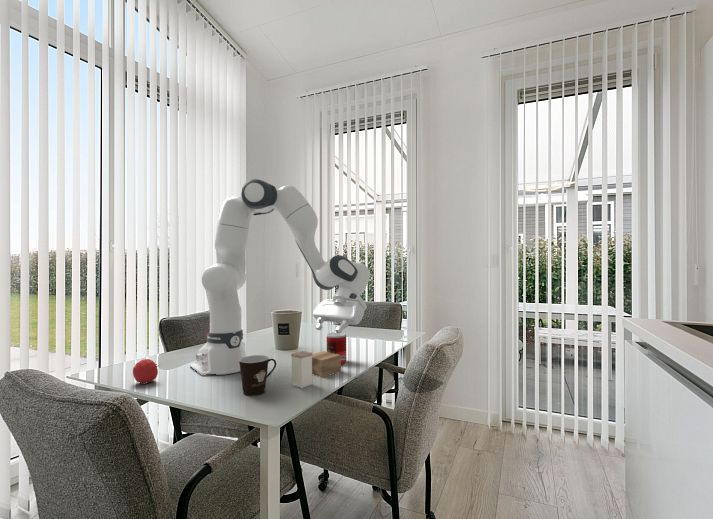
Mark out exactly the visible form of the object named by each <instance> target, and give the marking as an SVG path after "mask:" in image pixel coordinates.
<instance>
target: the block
mask: <svg viewBox="0 0 713 519" xmlns="http://www.w3.org/2000/svg"><path fill="white" fill-rule="evenodd" d="M341 367H342V364H341V355H338V354H334V353H330V352H327V351H325V350H323V351H318V352H315V353H312V375H313V374H314V375H313V376H316V375H317V376H316V377H319V376H320V378H324V376H325V377H328V376H330V374H331V375H334V374H336V373H340V371H341V370H342V368H341ZM341 372H342V371H341ZM333 373H334V374H333ZM327 375H328V376H327Z"/></svg>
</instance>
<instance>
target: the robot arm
mask: <svg viewBox="0 0 713 519" xmlns="http://www.w3.org/2000/svg"><path fill="white" fill-rule="evenodd" d="M274 210H276V211H277V212H278V213H279V214H280V215H281V216H282V218H283V220H284V221H285V222H286V224H287V226H288V227H289V228H290V230H291V233H292V235H293V237H294V240H295V243H296V245H297V247H298V249H299V250H300V253H301V255H302V256H303V258H304V260H305V262H306V263H307V265H308V267H309V269H310V271H311V273H312V277H313V281H314V283H315V285H316V286H317V287H318V288H319V289H321V290H323V291H324V290H325V291H331V290H332V289H334V288H336V287H337V286H338V288H337V290H336V292H335V293H334V295H333V296H332V298H326V299H324V300H322V301H321V302H320V303H319V304H318V305H317V307H316V308H314V310H313V312H312V316H313V317H314V319H315V320H316V321H317V322H316V325H315V330H317V331H322V329H323V325H322V324H323V323H324V322H329V323H334V324H340V325H339V326H336V328H335V329H334V330H335V333H336V332H337V333H343V330H345V329H346V328H347V327H349V325H352V326H357V325H358V324H360V323H361V321H362V319H363V317H364V315H365V311H366V310H367V308H368V306H367V304H366V302H365V301H364V299H363V297H361V295H362V294H363V292H364V291H365V290H366V288H367V286H368V283H369V282H370V281H369V280H370V278H371V272H370V269H369V268H368V266H367V265H366V264H364V263H362V262H354V261H352V260H349V259H348V258H347V257H346V256H344V255H341V254H336V255H334V256H333V257H331V258H329V259H328V260H327V261H325V260H324V258H323V257H322V255H321V253H320V250H319V249H318V248H317V245H316V243H315V234H316V231H317V228H318V222H319V219H318V216H317V213H316V211H315V210H314V208H313V207H312V206H311V204H310V202H309V201H308V200H307V199H306V197H305V196H304V195H303V194H302V193H301V192H300V190H298V188H296V187H295V186H294V185H291V184H287V185H283V186H281V187H279V188H277V187H275V186H274V185H273V184H271V183H268V182H267V181H264V180H261V179H256V178H253V179H250V180H247V181H245V182H244V183H243V185H242V187H241V190H240V196H230V197H227V198H225V200H224V201H223V203H222V205H221V208H220V212H219V215H218V221H217V227H216V233H215V240H214V248H215V253H216V254H215V256H216V263H214V264H213V265H210V266H209V267H207V268H206V269H205V270H204V271H203V273H202V276H201V284H202V286H203V288H204V290H205V293H206V300H207V304H208V308H209V310H208V311H209V332H208V333H207V334H206V341H207V342H205V344H203V346H202V347H200V348H199V349H198V350H197V352H196V356H195V359H196V362H193V363H190V364H189V367H190V366H191V367H192V368H194V369H195V370H196V371H198V372H199V373H201V374H203V375H202V376H205V375H204V374H216V375H221V376H222V375H229V374H234V373H235V374H236V373H240V364H239V359H241V358H243V357H247V354H246V353H247V352H246V344H245V342H243V340H244V330H243V328H242V326H243V324H242V323H243V322H242V306H241V304H240V299H239V295H238V294H239V293H238V291H239V290H240V289H241V288H242V287H243V286H244V284H245V283H246V281H247V274H246V269H247V268H246V267H247V266H246V265H247V264H246V263H247V262H246V261H247V260H246V259H247V258H246V256H247V254H246V253H247V251H246V250H247V244H248V237H249V230H250V229H249V228H250V223H251V218H252V216H260V215H267V214H271V213H272V212H273V211H274ZM192 368H191V369H192ZM195 370H194V371H195ZM196 371H195V372H196ZM198 372H197V373H198ZM199 373H198V374H199Z"/></svg>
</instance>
